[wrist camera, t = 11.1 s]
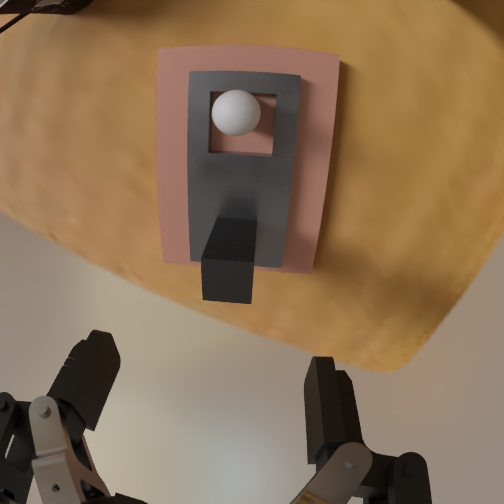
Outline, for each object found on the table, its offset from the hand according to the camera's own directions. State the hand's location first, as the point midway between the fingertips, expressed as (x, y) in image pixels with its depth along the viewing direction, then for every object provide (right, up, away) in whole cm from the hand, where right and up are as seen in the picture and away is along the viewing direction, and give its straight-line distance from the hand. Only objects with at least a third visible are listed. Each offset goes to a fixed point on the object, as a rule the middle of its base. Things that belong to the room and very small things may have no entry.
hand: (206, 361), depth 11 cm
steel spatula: (+1, +10, +10) cm, 15 cm away
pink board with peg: (+1, +11, +11) cm, 16 cm away
